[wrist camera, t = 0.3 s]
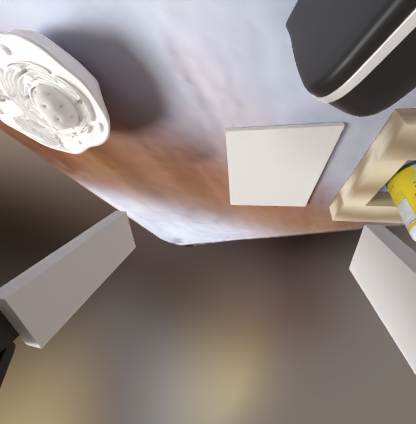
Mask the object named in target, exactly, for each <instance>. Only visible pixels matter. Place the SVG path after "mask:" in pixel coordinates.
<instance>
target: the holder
mask: <svg viewBox="0 0 416 424" xmlns="http://www.w3.org/2000/svg"><path fill="white" fill-rule="evenodd" d="M407 160H416V108H411V109H395V111H394V112H393V114H392V115H391V117H390V118H389V120H388V121H387V123H386V124H385V126H384V127H383V129H382V130H381V131H380V133H379V134H378V136H377V137H376V139H375V140H374V142H373V143H372V145H371V146H370V148H369V149H368V151H367V152H366V154H365V155H364V157H363V158H362V160H361V161H360V163H359V164H358V166H357V167H356V169H355V170H354V172H353V173H352V174H351V176H350V177H349V179H348V180H347V182H346V183H345V185H344V186H343V188H342V189H341V191H340V192H339V194H338V195H337V197H336V198H335V200H334V201H333V203H332V204H331V206H330V207H329V208H330V212H331V216H332V219H333V221H362V222H392V223H404V221H403V219H402V217H401V215H400V213H399V211H398V209H397V207H396V205H395V203H394V201H393V199H392V197H391V195H390V193H389V192H378V191H379V190H380V189H381V188H382V187H383V186H384V185H385V184H386V183H387V182H388V181H389V180H390V179H391V177H392V176H393V175H394V174H395V173H396V172H397V171H398V170H399V169H400V168H401V167H402V166H403V165H404V163H405V162H406V161H407Z"/></svg>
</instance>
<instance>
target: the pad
mask: <svg viewBox="0 0 416 424" xmlns="http://www.w3.org/2000/svg"><path fill="white" fill-rule="evenodd" d="M344 126H345V125H344V123H343V122H336V123H318V124H299V125H281V126H262V127H244V128H226V143H227V158H228V173H229V187H230V202H231V205H265V206H306V204H307V202H308V200H309V198H310V196H311V194H312V191H313V189H314V187H315V185H316V183H317V181H318V179H319V177H320V175H321V173H322V171H323V169H324V167H325V165H326V163H327V161H328V159H329V157H330V155H331V153H332V151H333V149H334V146H335V144H336V142H337V140H338V138H339V136H340V134H341V132H342V130H343V128H344Z"/></svg>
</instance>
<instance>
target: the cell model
mask: <svg viewBox="0 0 416 424" xmlns="http://www.w3.org/2000/svg"><path fill="white" fill-rule="evenodd" d="M0 120H1V121H3V122H4V123H6V124H7V125H9V126H11V127H12V128H14V129H16V130H18V131H20V132H21V133H23V134H25V135H27V136H28V137H30V138H32V139H34V140H35V141H37V142H39V143H41V144H43V145H45V146H47V147H50V148H53V149H57V150H60V151H64V152H67V153H72V154H80V153H82V152H84V151H85V150H87V149H88V148H90V147H94V146H98V145H101V144H103V143H104V142H105V141H106V140H107V139H108V137H109V134H110V118H109V115H108V112H107V109H106V106H105V104H104V101H103V98H102V95H101V90H100V86H99V83H98V81H97V80H96V78H95V77H94V76H93V75H92V74H90V73H89V71H88V70H87V69H86V68H85V67H84V66H83V65H81V64H80V63H79V62H78V61H77V60H76V59H75V58H73V57H72V56H71V55H70V54H68V53H67V52H66V51H64V50H63V49H62V48H60V47H59V46H58V45H57V44H55V43H54V42H53V41H51V40H50V39H48V38H47V37H45V36H44V35H42V34H40V33H37V32H34V31H31V30H25V29H18V30H11V31H7V32H1V33H0Z"/></svg>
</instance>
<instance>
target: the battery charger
mask: <svg viewBox="0 0 416 424" xmlns="http://www.w3.org/2000/svg"><path fill="white" fill-rule="evenodd" d="M286 28H287V30H288V32H289V34H290V37H291V42H292V48H293V53H294V58H295V62H296V65H297V68H298V71H299V74H300V77H301V79H302V82H303V84H304V86H305V88H306V89H307V90H308V91H309V92H310V94H311V95H312V96H313V97H314V98H315V99H317V100H318V101H320V102H323V103H329V104H331V105H332V106H334V107H336V108H338V109H339V110H341V111H343V112H345V113H348V114H351V115H354V116H359V117H361V116H370V115H374V114H377V113H379V112H381V111H383V110H384V109H386V108H388V107H390V106H391V105H393V104H394V103H396V102H397V101H398V100H400V99H401V98H403V97H404V96H405V95H406V94H408V93H409V92H410V91H411V90H413V89H414V88H415V87H416V0H298V2H297V4H296V5H295V7H294V9H293V11H292V13H291V15H290V17H289V19H288V21H287V23H286Z"/></svg>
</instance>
